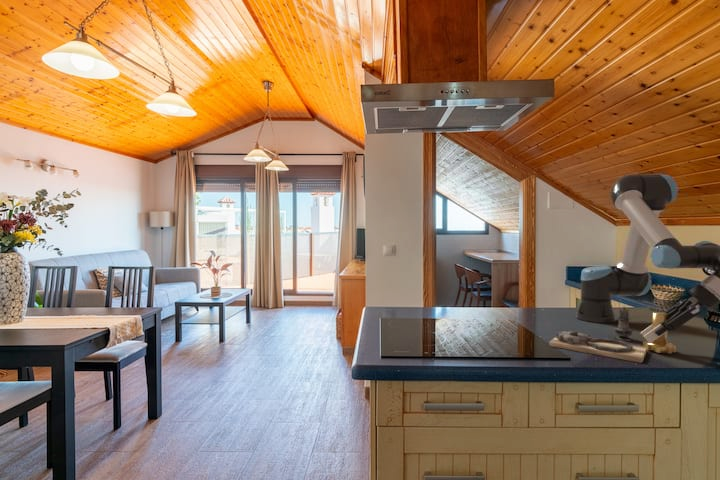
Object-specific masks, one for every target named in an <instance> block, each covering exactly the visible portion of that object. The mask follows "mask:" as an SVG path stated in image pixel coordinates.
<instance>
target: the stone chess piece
mask: <svg viewBox="0 0 720 480" xmlns="http://www.w3.org/2000/svg"><path fill="white" fill-rule="evenodd" d="M629 315H630V314H629V310H628V309H626V307H625V306H623V307H622V308H620V309H619V310H618V318H617V319H618V325H617V326H616V327H614V328H613V329H614V332H615V334H616V335H617V336H615V337H614V340H619V341H623V342H631V341H633V339H632V338H631V337H630V336H632V334H633V332H634V329H632V328H631V327H630V325H629V324H630V323H629V322H630V320H631V319H630V318H629Z"/></svg>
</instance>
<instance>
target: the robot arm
mask: <svg viewBox="0 0 720 480" xmlns="http://www.w3.org/2000/svg"><path fill="white" fill-rule="evenodd" d="M678 192H679V187H678V184H677V182H676V180H675V179H674V177H672V176H671V175H669V174H661V173H648V174H647V173H646V174H645V173H644V174H643V173H641V174H639V173H638V174H632V173H631V174H626V175H622V176H621V177H619V178H618V179H616V180H615V182H614V183H613V184H612V186H611V188H610V191H609V194H610V195H609V196H610V200H611V202H612V204H613V205H614V207H615V208H616V209H617V210H619V211H622V213H623V214H624V215H625V216H626V217H627V219H628V220H629V221H630V225H629V227H628V228H629V229H628V233H627V237H626V240H625V241H626V242H625V245H624V248H623V253H622V256H621V260H620V261H618V262H617V263H616V264H615V268H614V269H613V268H612V267H611V266H606V265H602V266H601V265H600V266H599V265H597V266H589V267H585V268H583V269H582V270H581V273H580V274H581V275H580V301H579V305H578V307H577V310H576V313H575V318H576V319H578V320H581V321H585V322H590V323H597V324H599V323H601V324H607V323H608V324H611V323H615V322H616V321H617V317H616V314H615V310H614V307H613V303H612V296H613V297H637V296H638V297H639V296H643V295H646V294H647V293H648V292H649V290H650V289H651V287H652V276H651V274H650V272H649V269H648V268H647V267H646V262H647V260H648V259H647V258H648V254H649V251H650V248H651V251H650V259H651V263H652V264H653V266H655V267H657V268H660V269H667V270H669V269H670V270H673V269H709V270H711V271H712V272H713V273H711V274H709V275H708V276H707V277H706V278H704V279H703V280H701V281H700V284H696V285H695V286H693V287H692V288H690V289H689V290H688V293H689V294H690V295H691V297H689V298H686V299H680V300H679V301H678V302H676V304H674V305H672V306H671V307H670V308H669V309H667V310H666V311H664V313H666V314H668V318H667V321H666V322H665V323H663V322H660V325H658V326H657V327H655V328H654V329H653V330H652V324H651V325H649V326H648V327H646V328H645V329H644V330H642V331H641V332H640V334H641V335H642V336H643V338H644V339H645V341H649V342H650V343H652V342H653V341H654V340H656V339H657V338H659V337H660V336H662V335H663V334H665V333H666V332H667V333H668V332H669V331H670V332H674V331H675V330H676V329H679V328H680V327H682V326H684V324H686V323H687V322H689V321H690V320H692V319H693V318H695V317H697V316H699V315H701V314H702V311H701V309H703V308H704V307H706V308H707V309H709V310H711V309H713V308H716V306H717V305H719V304H720V245H719V244H717V243H715V242H712V241H710V240H709V241H708V240H702V241H700V242H696V243H695V244H694V245H683V244H681V242H680V241H679V240H678V239H677V238H676V237H675V235H673V233H672V232H671V231H670V229H668V227H667V226H666V225H665V224H664V223H663V221H662V220H661V219H660V218H659V216H660V213H661V212H664V211H665V210H666V208H667V205H668V204H671V203H674V201H675V200H676V198H677V196H678ZM661 324H662V325H663V326H662V325H661Z"/></svg>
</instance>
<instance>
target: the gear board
mask: <svg viewBox="0 0 720 480" xmlns="http://www.w3.org/2000/svg"><path fill="white" fill-rule="evenodd" d="M548 343H549V345H548V346H549V347H552V348H558V349H564V350H569V351H574V352H579V353H585V354H590V355H597V356H601V357H605V358H607V357H608V358H613V359H619V360H625V361H628V362H629V361H630V362H635V363H640V364H641V363H642V364H643V361H644V359H645V357H646V354H647V352H648V350H647V347H643V345H642V346H641V345H635V344H630V343H628V342H626V341H622V340H618V339H612V338H611V339H610V338H606V337H599V338H598V337H597V338H595V337H593V338H592V337H591V336H590V334H588V333H582V332H580V331H573V330H569V331H568V330H563V331H557V332H556V336H555V337H553V338H552V339H551V340H550V341H549V342H548Z"/></svg>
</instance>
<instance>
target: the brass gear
mask: <svg viewBox="0 0 720 480" xmlns="http://www.w3.org/2000/svg"><path fill="white" fill-rule="evenodd" d="M651 314H652V315H651V317H652V318H651V325H652V330H653V329H654V328H655V327H657V326H658V325H660V322H663V323H665V322H666V321H667V318H668V314H666V313H665V312H657V311H653V312H652V313H651ZM661 325H662V324H661ZM662 326H663V325H662ZM642 347H647V351H652V352H655V353H659V354H660V353H661V354H673V353H676V352H677V345H674V343H671V342H668V331H667V332H666V333H665V334H663V335H662V336H660V337H659V338H657V339H656V340H654V341H653V342H652V343H650V342H649V341H647V340H643V341H642Z"/></svg>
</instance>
